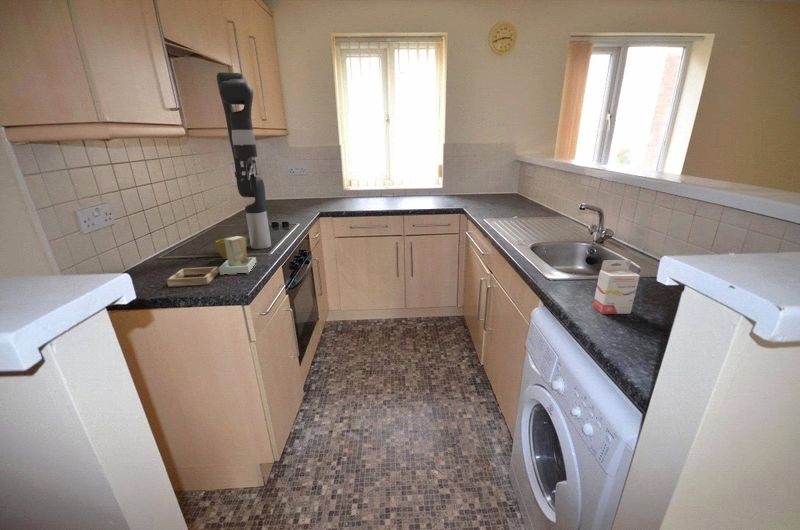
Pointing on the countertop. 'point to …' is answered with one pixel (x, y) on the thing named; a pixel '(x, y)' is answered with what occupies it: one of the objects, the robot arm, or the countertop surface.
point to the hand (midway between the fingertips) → (251, 189)
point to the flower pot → (223, 247)
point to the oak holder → (180, 281)
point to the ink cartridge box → (615, 288)
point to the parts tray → (237, 267)
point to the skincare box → (236, 251)
